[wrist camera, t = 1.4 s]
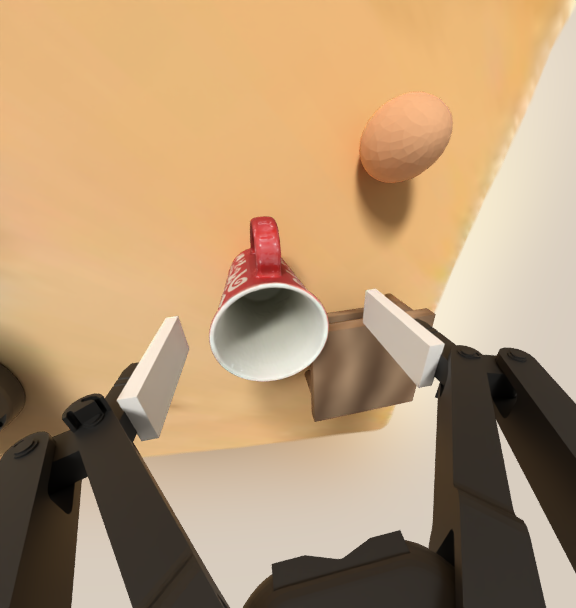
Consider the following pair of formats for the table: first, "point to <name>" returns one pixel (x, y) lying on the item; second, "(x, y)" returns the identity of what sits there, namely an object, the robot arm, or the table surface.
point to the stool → (358, 368)
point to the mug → (266, 313)
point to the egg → (405, 137)
